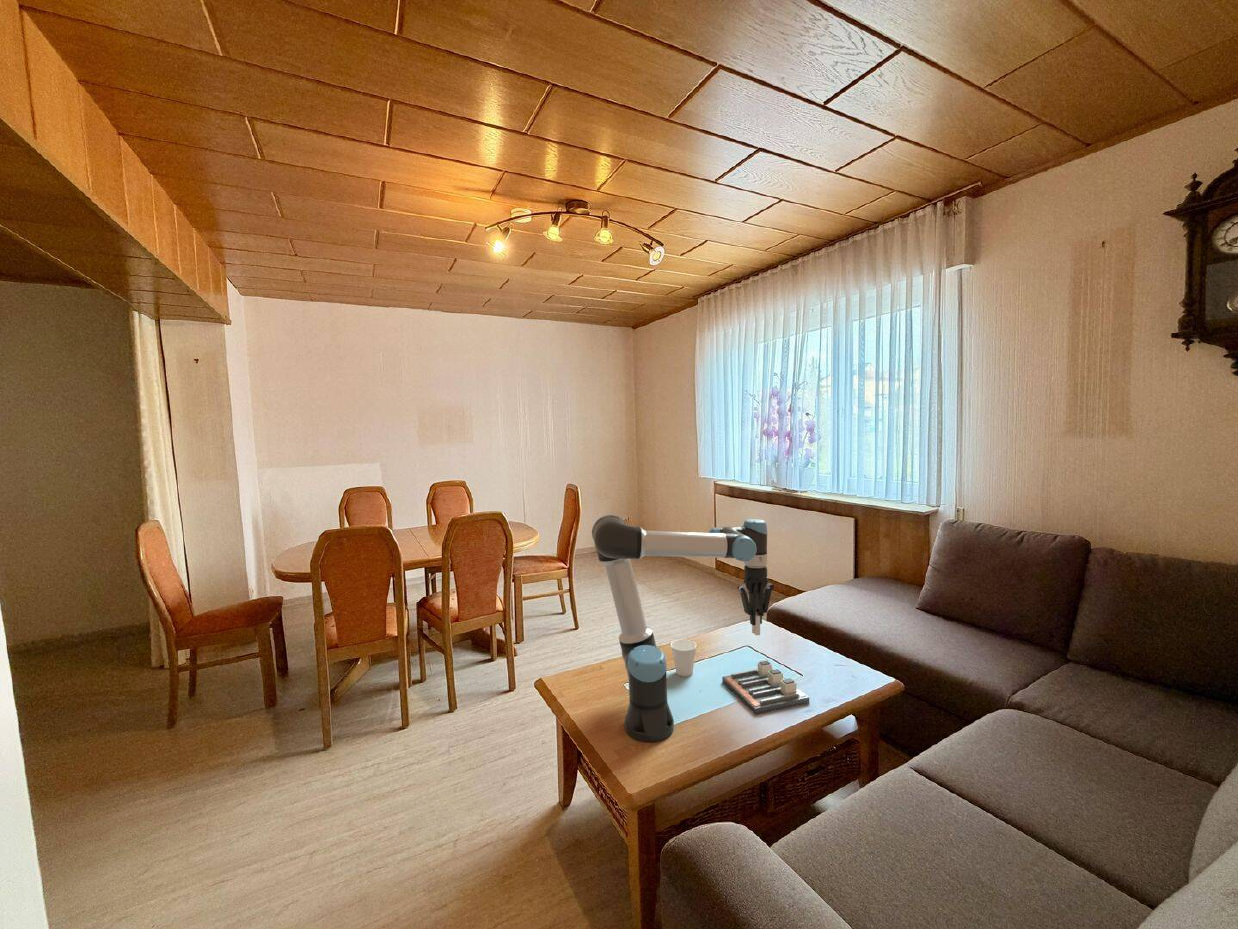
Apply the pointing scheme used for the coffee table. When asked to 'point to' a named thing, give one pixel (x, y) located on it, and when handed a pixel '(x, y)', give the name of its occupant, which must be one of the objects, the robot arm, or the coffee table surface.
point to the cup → (683, 656)
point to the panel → (762, 692)
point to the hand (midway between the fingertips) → (756, 633)
